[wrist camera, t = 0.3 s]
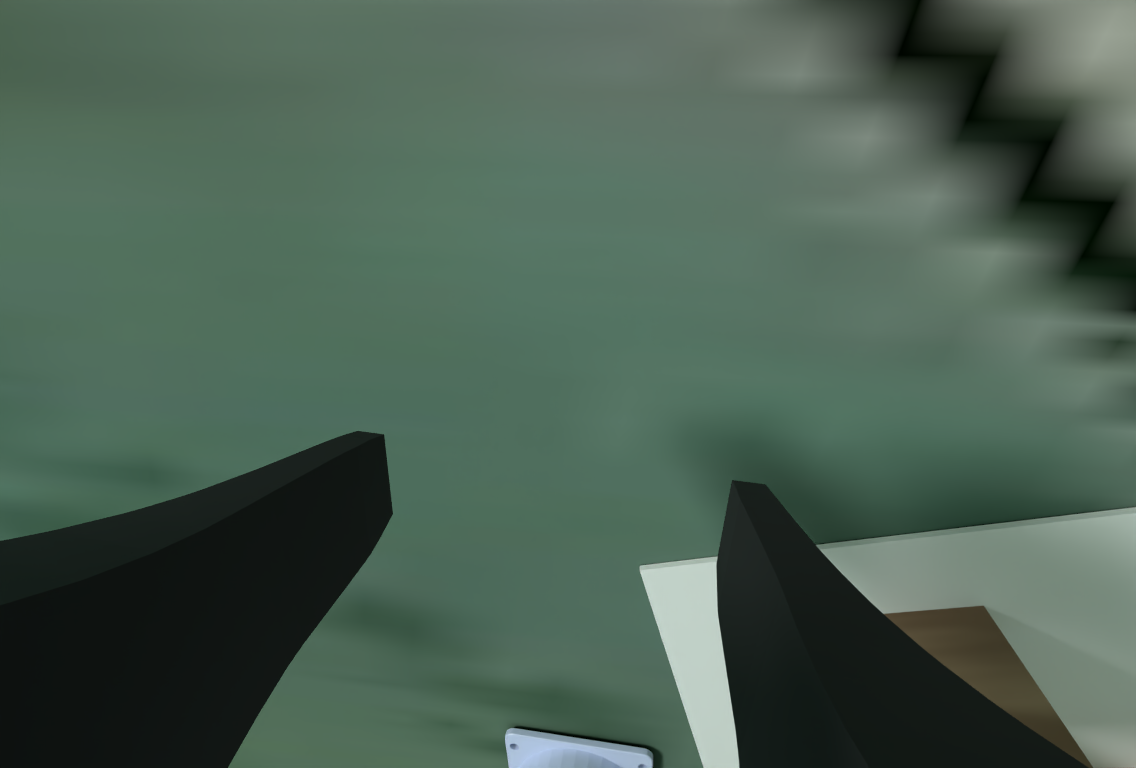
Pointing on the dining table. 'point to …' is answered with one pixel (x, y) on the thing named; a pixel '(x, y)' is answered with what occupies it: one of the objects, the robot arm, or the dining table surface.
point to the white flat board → (952, 580)
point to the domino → (987, 666)
